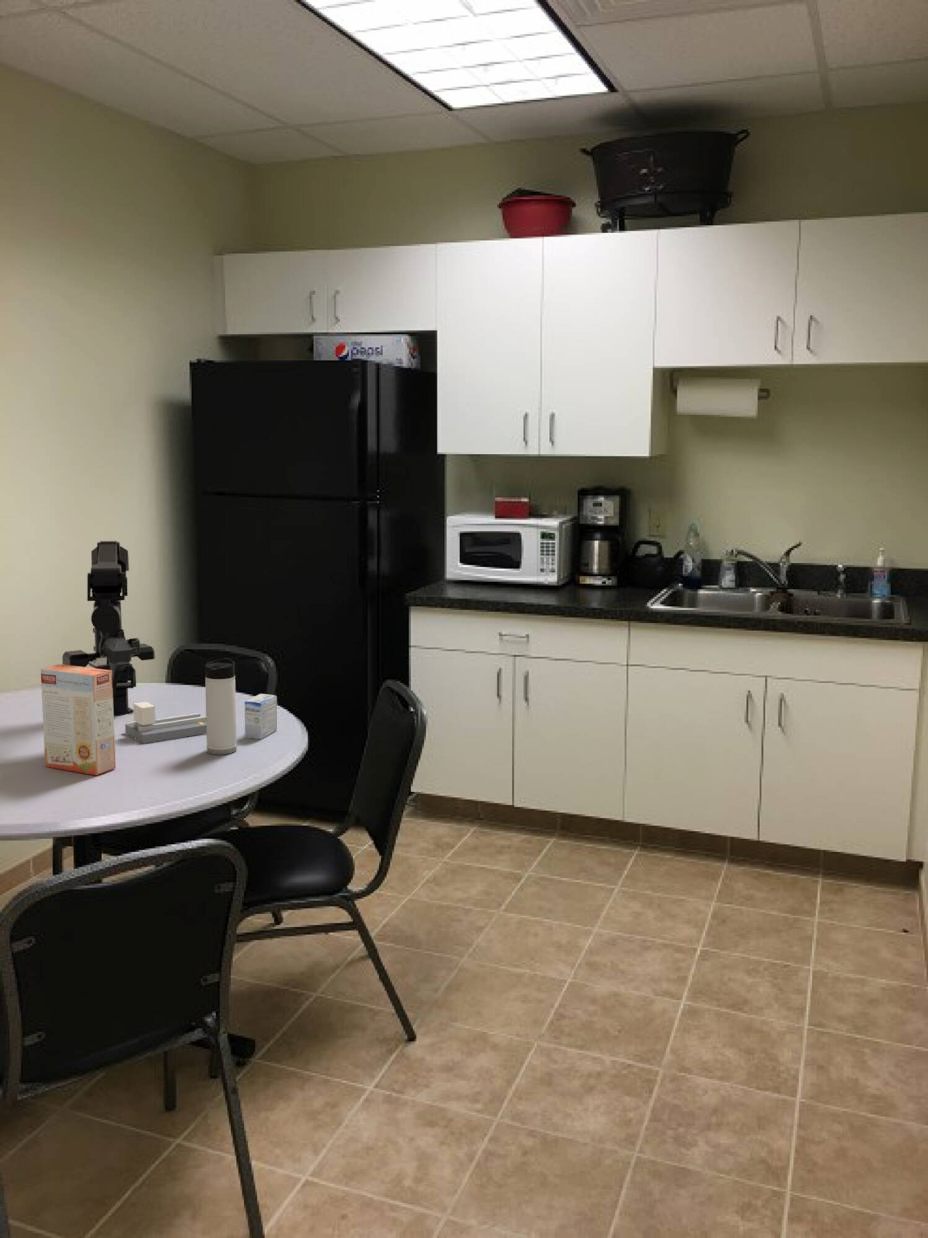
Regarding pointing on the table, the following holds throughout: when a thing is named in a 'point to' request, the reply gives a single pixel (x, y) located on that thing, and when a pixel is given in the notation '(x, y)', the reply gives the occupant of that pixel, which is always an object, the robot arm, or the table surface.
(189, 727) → the console
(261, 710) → the medicine box
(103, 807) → the table surface
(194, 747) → the table surface
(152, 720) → the fader
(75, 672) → the cracker box
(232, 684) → the travel mug
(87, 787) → the table surface
